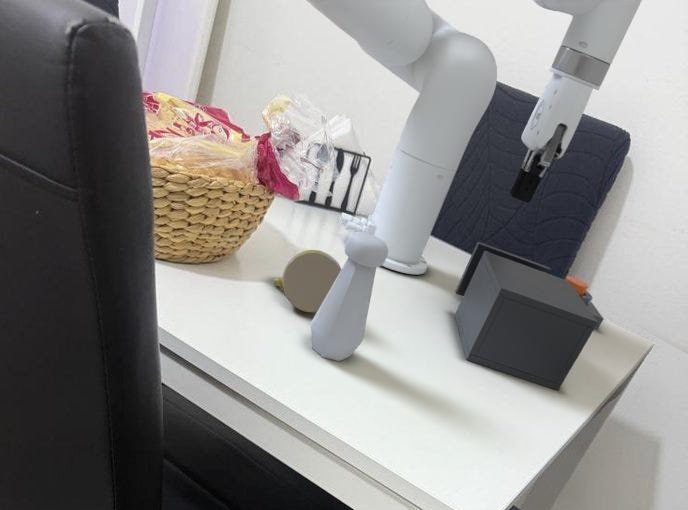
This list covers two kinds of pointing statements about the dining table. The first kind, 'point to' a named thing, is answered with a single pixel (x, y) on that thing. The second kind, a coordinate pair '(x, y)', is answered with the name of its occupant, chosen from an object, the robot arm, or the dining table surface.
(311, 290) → the mug
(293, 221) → the dining table surface
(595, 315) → the panel
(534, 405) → the dining table surface
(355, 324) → the salt shaker
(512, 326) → the box
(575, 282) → the button
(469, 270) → the fryer drawer
